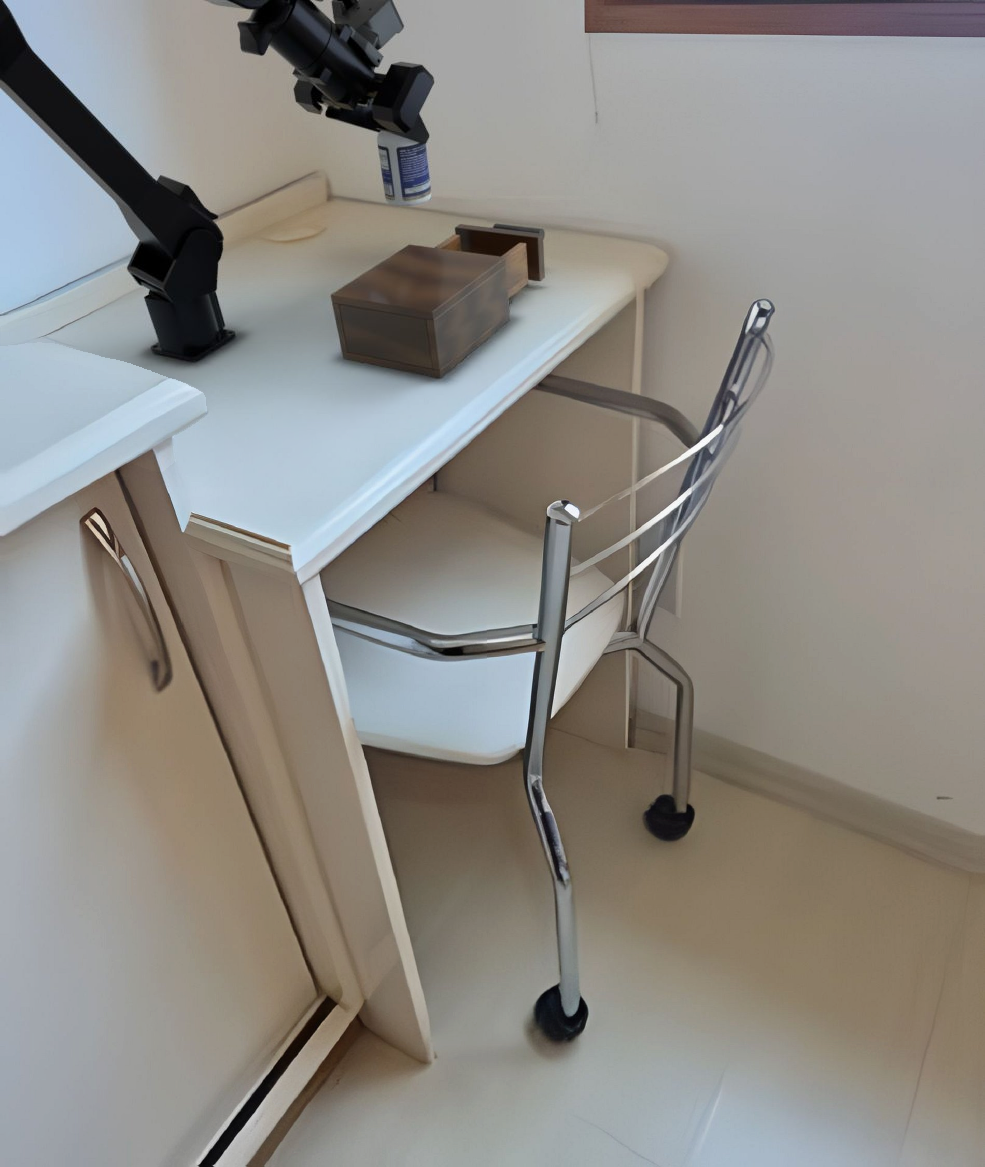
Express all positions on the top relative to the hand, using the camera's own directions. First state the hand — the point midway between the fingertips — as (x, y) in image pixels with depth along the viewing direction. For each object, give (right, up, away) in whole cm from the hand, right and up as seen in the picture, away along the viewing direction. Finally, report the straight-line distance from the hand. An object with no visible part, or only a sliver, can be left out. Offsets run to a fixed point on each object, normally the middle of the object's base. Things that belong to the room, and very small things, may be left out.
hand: (411, 136), depth 104 cm
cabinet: (+3, -25, -10) cm, 27 cm away
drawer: (+8, -18, -3) cm, 20 cm away
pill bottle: (-1, -6, +4) cm, 7 cm away
